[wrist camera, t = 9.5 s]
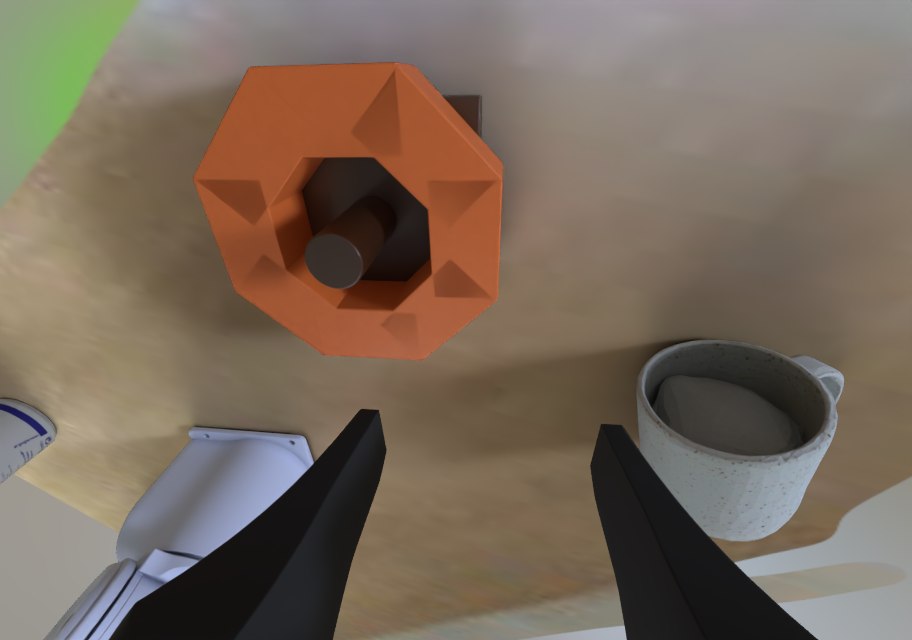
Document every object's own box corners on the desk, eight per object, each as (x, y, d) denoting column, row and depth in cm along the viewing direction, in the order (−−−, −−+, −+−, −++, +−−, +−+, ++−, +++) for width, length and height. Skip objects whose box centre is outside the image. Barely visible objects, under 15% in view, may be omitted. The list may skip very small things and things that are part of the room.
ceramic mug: (626, 444, 26) (670, 567, 19) (618, 350, 22) (669, 465, 15) (808, 424, 23) (927, 556, 17) (836, 314, 19) (1007, 431, 13)
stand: (307, 296, 22) (247, 363, 17) (256, 98, 17) (144, 106, 12) (478, 302, 21) (470, 376, 16) (482, 94, 16) (471, 102, 11)
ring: (286, 320, 22) (257, 352, 19) (209, 71, 15) (151, 70, 13) (496, 329, 20) (494, 364, 18) (507, 62, 14) (508, 58, 12)
